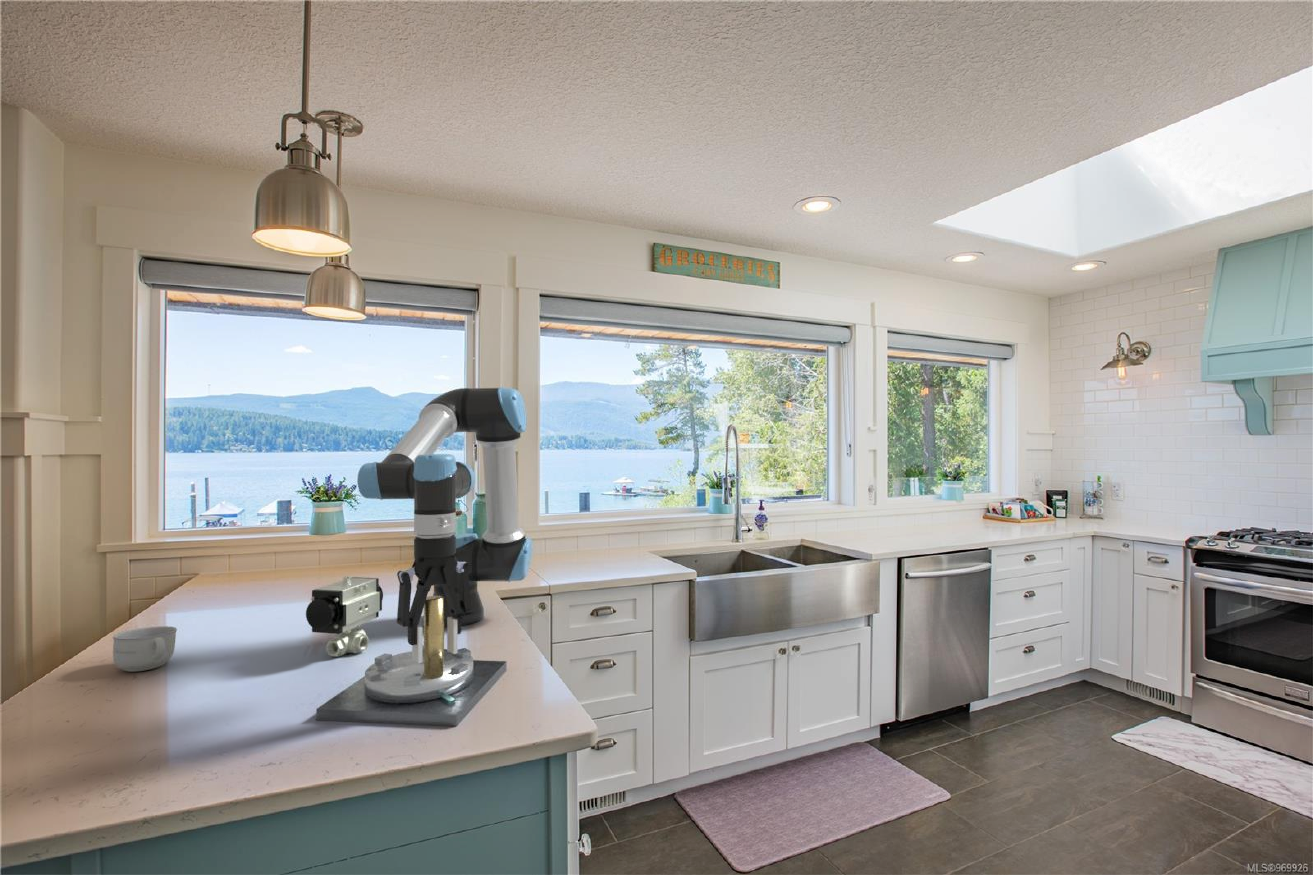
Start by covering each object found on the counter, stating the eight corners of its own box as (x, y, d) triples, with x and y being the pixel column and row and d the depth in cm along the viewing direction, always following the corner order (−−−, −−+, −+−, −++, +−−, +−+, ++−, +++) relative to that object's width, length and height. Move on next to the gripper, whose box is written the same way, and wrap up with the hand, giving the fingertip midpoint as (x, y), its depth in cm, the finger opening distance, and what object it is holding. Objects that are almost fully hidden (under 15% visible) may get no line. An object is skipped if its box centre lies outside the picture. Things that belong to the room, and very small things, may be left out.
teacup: (109, 667, 136) (109, 631, 136) (171, 655, 143) (171, 620, 143) (118, 684, 126) (118, 645, 126) (184, 670, 134) (184, 633, 134)
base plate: (392, 666, 136) (392, 654, 136) (506, 670, 133) (506, 658, 133) (316, 720, 110) (316, 705, 110) (456, 726, 108) (456, 711, 108)
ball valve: (337, 667, 135) (337, 586, 136) (304, 664, 137) (304, 584, 137) (389, 640, 153) (388, 569, 153) (358, 638, 155) (358, 568, 155)
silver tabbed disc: (340, 695, 115) (340, 600, 115) (412, 658, 134) (412, 577, 134) (430, 709, 109) (430, 609, 109) (492, 669, 128) (492, 584, 128)
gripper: (391, 543, 108) (391, 675, 108) (490, 531, 121) (490, 649, 121) (375, 538, 113) (375, 664, 113) (471, 527, 127) (472, 640, 126)
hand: (435, 656), depth 117 cm, fingers open, 6 cm apart
